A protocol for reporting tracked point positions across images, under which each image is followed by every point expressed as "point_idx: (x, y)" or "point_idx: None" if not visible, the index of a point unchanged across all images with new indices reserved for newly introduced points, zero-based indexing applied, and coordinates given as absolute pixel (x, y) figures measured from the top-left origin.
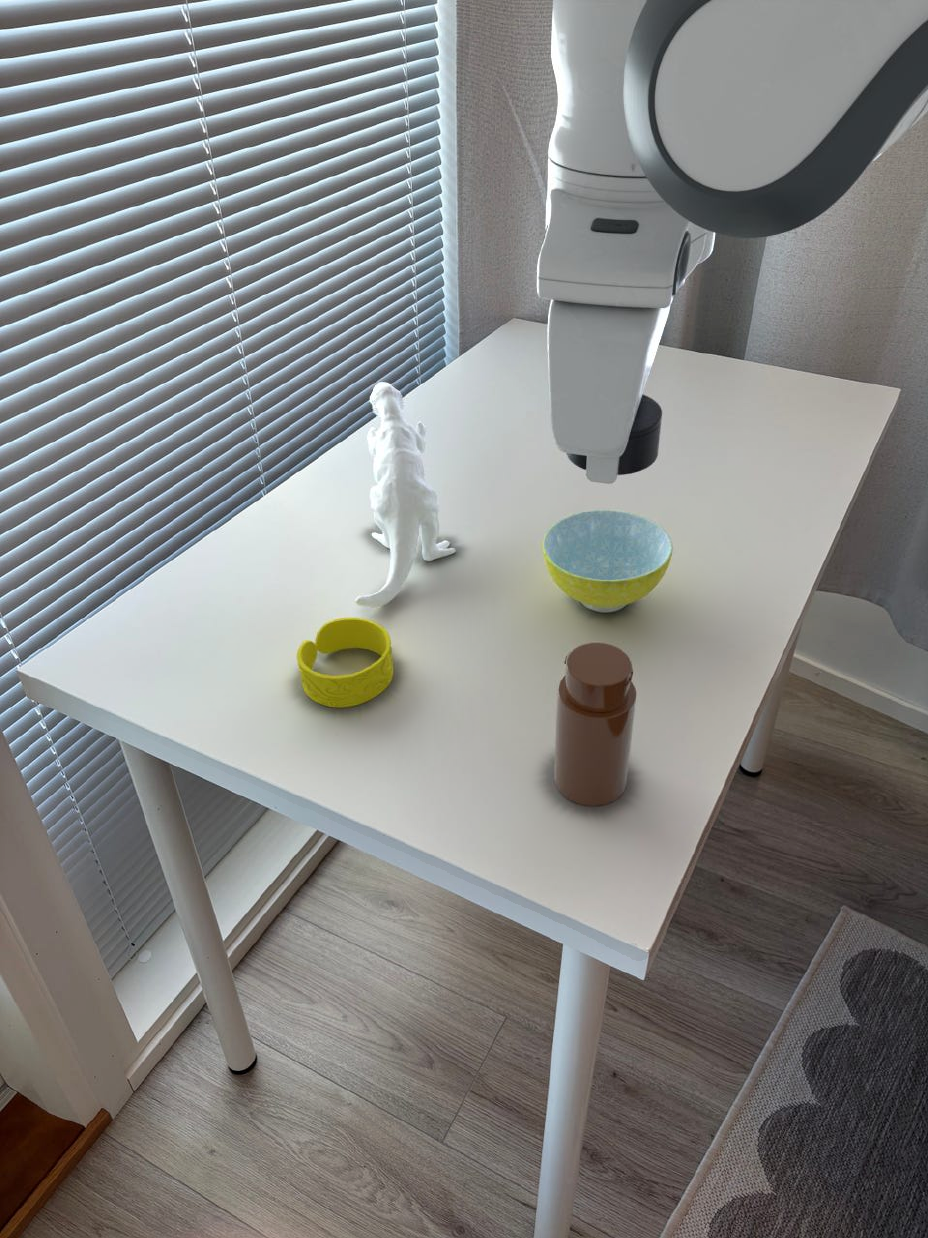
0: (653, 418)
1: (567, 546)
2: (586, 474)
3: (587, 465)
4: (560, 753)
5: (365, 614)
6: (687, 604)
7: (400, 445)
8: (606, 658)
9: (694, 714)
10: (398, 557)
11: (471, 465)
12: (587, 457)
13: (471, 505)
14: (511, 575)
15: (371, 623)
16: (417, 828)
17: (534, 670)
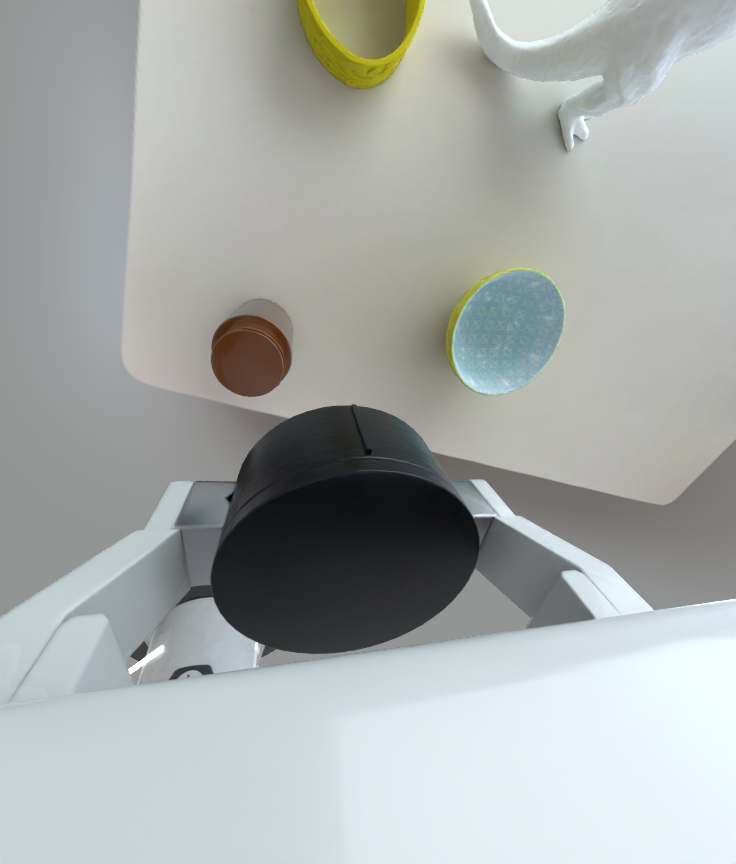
0: (322, 645)
1: (529, 292)
2: (169, 485)
3: (158, 504)
4: (236, 310)
5: (469, 17)
6: (463, 391)
7: None
8: (258, 371)
9: (346, 400)
10: (547, 49)
11: (722, 152)
12: (150, 521)
13: (646, 162)
14: (517, 229)
15: (414, 20)
16: (151, 162)
17: (382, 268)
